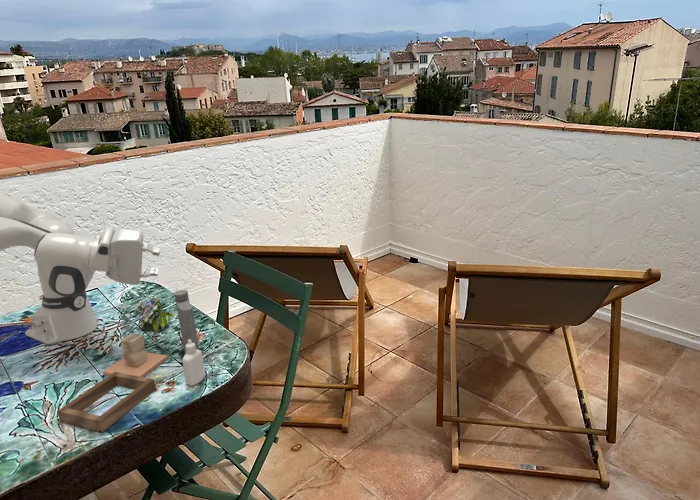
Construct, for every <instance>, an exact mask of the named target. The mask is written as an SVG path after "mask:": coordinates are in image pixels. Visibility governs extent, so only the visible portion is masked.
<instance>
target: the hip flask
mask: <svg viewBox="0 0 700 500" xmlns="http://www.w3.org/2000/svg"><path fill="white" fill-rule="evenodd" d="M173 296H174V298H175V299H174V300H175V305H176V310H177V311H176V312H177V317H178V323H179V329H180V336H181V341H182V346H183V351H184V352H183V353H184V355H185V354H186V347H185V345H186V344H188V340H189V339H191V341H192V343H195V346H196V350H200V347H199V340H198V333H197V332H198V331H197V327H196V326H197V325H196V321H195V314H194V308H193V305H191V303H190V299H189V292H188V290H187V289H180V290H176V291H175V292H173Z"/></svg>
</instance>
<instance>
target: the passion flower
mask: <svg viewBox="0 0 700 500" xmlns="http://www.w3.org/2000/svg"><path fill="white" fill-rule="evenodd" d="M143 303H144V301H142V302H140V303H139V305H137V308H136V309H135V313H138V312H139V311H140V310H141V312H140V314H138V316H139V317H138V318H139V319H138V322H139V323H140V324H141V326H140V328H141V329H143V328H146V325H147V323H148V322H149V324H151V325H152V327H153V328H152V329H153V330H154V332H156V333H159V327H161V330H164V328H165V327H166V326H168V323H170V320H169V319H170V318H174V317H175V316H174V310H170V311H164V309H163V307H162V303H161V300H160V298H159V297H158V296H156V297H155V299H154V298H153V299H150V300H148V301H147V303H146V302H145V305H144V304H143ZM143 305H144V306H143ZM169 317H170V318H169Z"/></svg>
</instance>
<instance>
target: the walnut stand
mask: <svg viewBox="0 0 700 500" xmlns="http://www.w3.org/2000/svg"><path fill="white" fill-rule="evenodd" d="M156 386H157V385H156V382H155V379H153V378H148V377H145V376H144V377H139V376H134V375H129V374H124V373H118V372H114V373H112V374H111V375H110V376H106V377H105V378H103V380H101V381H100V382H98V383H96V384H95V385H93V386H92V387H90V388H89V389H88V390H86V391H84V392H83V393H82V394H80V395H79V396H77V397H76V398H74V399H73V400H71V401H70V402H68V403H66V404H65V405H63V406H62V407H61V408H59V409H58V410H56V411H57V415H58V419H59V422H60V423H63V424H68V425H70V426H71V425H72V426H76V427H80V428H84V429H87V428H88V429H87V430H91V429H92V430H91V431H95V430H96V431H95V432H99V431H101V432H100V433H104V432H105V431H106V430H108V429H109V428H110V427H111V426H112V424H115V423H117V422H118V421H119V420H120V419H121V418H122V417H123V416H125V415H126V414H128V413H129V412H131V410H132V409H134V408H135V407H136V406H137V405H139V404H140V403H141V402H143V400H145V399H146V398H147V397H148V396H150V395H151V394H152V393H153V392H155V391H156V390H157V387H156ZM116 387H121V388H127V389H132V391H130V393H128V394H127V395H126V396H125V397H123V398H122V399H120V400H119V401H118V402H116V404H114V405H112V406H111V407H110V408H109V409H107V410H106V411H105V412H104V413H101V415H99V414H94V413H89V412H85V411H84V410H86V409H87V408H88V407H89V406H91V405H92V404H93V403H95V402H97V401H98V400H100V399H101V398H102V397H103V396H105V395H106V394H108V393H109V392H110V391H111V390H113V389H114V388H116ZM107 428H108V429H107Z"/></svg>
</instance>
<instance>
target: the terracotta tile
mask: <svg viewBox="0 0 700 500" xmlns="http://www.w3.org/2000/svg"><path fill="white" fill-rule="evenodd" d="M146 356H147V361H146V362H145V363H144V364H142V365H141V366H139V367H138V368H134V367H128V366H126V365H125V360H124V357H122V358H121V359H119V360H118V361H116V362H114V364H112V365H110V366H109V367H108V368H106V369H103V371H102V375H103V376H106V377H108V376H110V375H111V374H112V373H114V372H118V373H124V374H129V375H134V376H139V377H144V378H145V377H146V376H147V375H148V374H150V373H152V372H153V371H154V370H155V369H157V368H158V367H159V366H161V365H162V364H163V363H164V362H166V361H167V360H169V355H168V354H167V355H165V354H159V353H154V352H150V351H149V352H148V351H146Z"/></svg>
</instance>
